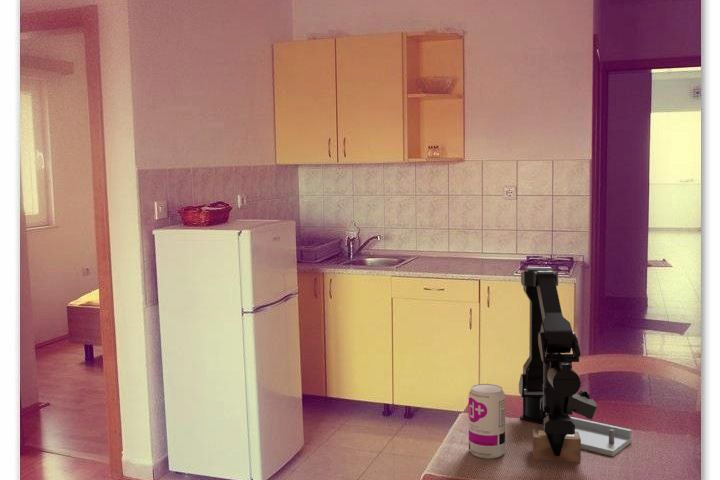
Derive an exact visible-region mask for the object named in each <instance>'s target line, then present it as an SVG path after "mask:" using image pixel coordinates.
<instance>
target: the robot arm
mask: <svg viewBox="0 0 720 480" xmlns="http://www.w3.org/2000/svg"><path fill="white" fill-rule="evenodd" d="M520 283H521V284H520V285H521V286H523V287H522V289H523V292H524V294H525V295H526V297H527V298H528V300H529V345H528V347H529V348H528V350H529V355H528V357H527V359H526V361H525V362H524V364H523V366H522V373H520V377H519V381H518V393H519V394H520V395H519V396H520V398H522V415H520V416H519V419H520V420H524V421H528V420H529V422H532V421H534V422H533V423H537V422H539V423H538V424H543V430H544V431H545V433H546V435H547V438H548V440H549V443H550V445H551V448H552V450H553V453H554V455H555V456H560V453H561V450H562V446H563V442H564V439H565V436H566V435H567V434H569V435H573V434H575V424H574V421H573V419H572V418H571V417H572V416H573V412H574V413H575V414H577V415H581V416H583V417H586V418H587V420H593V418H594V417H595V414H596V411H597V408H598V405H597V403H596V400H594V399H593V398H590V393H589V391H587V390H585V389H581V385H582V384H581V383H582V382H581V379H580V377H579V375H578V373H577V372H576V371H575V370H574V368H573V363H579V362H580V357H581V355H582V353H581V348H580V343H579V339H578V337H577V336H576V335H577V334H576V333H575V332H574V331H573V328H572V325H571V322H570V321H569V320H567V319H566V318H565V317H564V315H563V312H562V306H561V301H560V298H559V297H560V296H559V294H558V288H557V287H558V286H559V271H557V270H552V267H551V266H526V267H525V270H523V271H521V272H520ZM580 389H581V390H580ZM579 390H580V391H579Z"/></svg>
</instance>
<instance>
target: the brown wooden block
mask: <svg viewBox="0 0 720 480" xmlns="http://www.w3.org/2000/svg"><path fill="white" fill-rule="evenodd" d="M581 450H582V449H581V438H580V435H579V432H578V431H575V434H573V435H569V434H567V435H566V436H565V439H564V442H563V446H562V450H561V453H560V456H555V455H554V453H553V450H552V448H551V445H550V443H549V440H548V438H547V435H546V433H545V431H544V429H538V428H537V429H534V428H532V454H533V455H532V456H533V460H547V461H563V462H578V463H579V462H580V463H581V458H582V457H581V456H582V455H581V453H582V452H581Z"/></svg>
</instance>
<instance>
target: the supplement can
mask: <svg viewBox="0 0 720 480" xmlns="http://www.w3.org/2000/svg"><path fill="white" fill-rule="evenodd" d="M470 388H471V389H470V391H469V392H468V395H467V396H468V450H469V452H470V453H471V454H472V456H474V457H477V458H480V459H490V460H491V459H492V460H493V459H497V458H501V457H502V456H503V455H504V454H505V453H506V393H505V391H504V389H503V387H502V386H500V385H498V384H492V383H477V384H474V385H472V386H470Z"/></svg>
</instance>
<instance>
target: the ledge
mask: <svg viewBox="0 0 720 480" xmlns="http://www.w3.org/2000/svg"><path fill="white" fill-rule="evenodd" d="M570 417H571V418H572V419H573V421H574V424H575V431H578V432H579V435H580V438H581V450H586V451H590V452H592V453H593V452H594V453H598V454H603V455H606V456H610V457H614V456H616V455H617V454H619V453H620V452H621V451H622V450H624V449H625V448H626V447H628V445H630V444H631V443H632V435H633V434H632V433H633V432H632V429H630V428H625V427H621V426H615V425H611V424H607V423H603V422H597V421H592V420H590V419H584V418H579V417H574V416H570Z"/></svg>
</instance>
